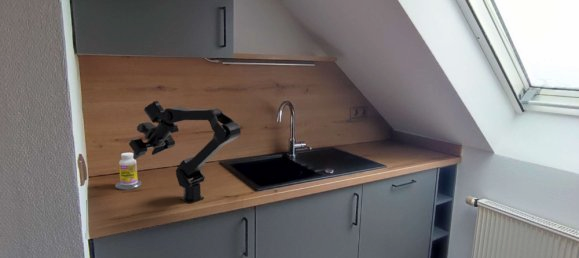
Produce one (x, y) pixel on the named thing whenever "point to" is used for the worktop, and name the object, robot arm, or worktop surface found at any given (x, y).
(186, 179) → the robot arm
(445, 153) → the worktop surface
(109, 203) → the worktop surface
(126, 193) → the worktop surface
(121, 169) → the supplement bottle
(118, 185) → the steel plate
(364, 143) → the worktop surface
